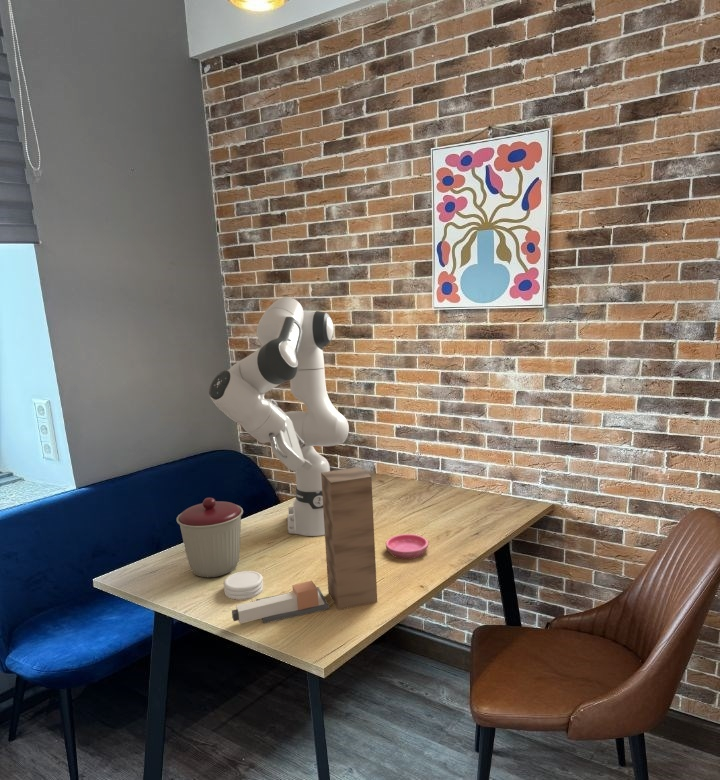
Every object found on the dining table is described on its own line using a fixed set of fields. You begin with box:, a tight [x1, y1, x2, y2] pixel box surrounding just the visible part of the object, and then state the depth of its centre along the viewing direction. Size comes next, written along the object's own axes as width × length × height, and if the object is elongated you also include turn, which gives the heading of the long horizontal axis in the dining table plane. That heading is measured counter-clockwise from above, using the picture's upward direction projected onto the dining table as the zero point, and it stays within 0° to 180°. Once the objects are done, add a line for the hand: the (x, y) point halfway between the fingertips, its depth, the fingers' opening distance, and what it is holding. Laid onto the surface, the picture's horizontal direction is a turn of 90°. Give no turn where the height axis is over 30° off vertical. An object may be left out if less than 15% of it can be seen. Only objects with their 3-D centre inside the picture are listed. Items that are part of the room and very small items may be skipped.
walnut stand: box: [321, 466, 378, 611], centre depth 146 cm, size 9×10×32 cm
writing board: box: [255, 586, 330, 624], centre depth 146 cm, size 10×16×1 cm, turn 109°
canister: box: [176, 497, 244, 578], centre depth 167 cm, size 18×18×21 cm
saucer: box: [385, 533, 429, 560], centre depth 173 cm, size 12×12×3 cm
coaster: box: [223, 570, 264, 601], centre depth 155 cm, size 10×10×4 cm
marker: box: [231, 580, 319, 624], centre depth 141 cm, size 4×20×4 cm, turn 113°
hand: (306, 456), depth 147 cm, fingers open, 8 cm apart
